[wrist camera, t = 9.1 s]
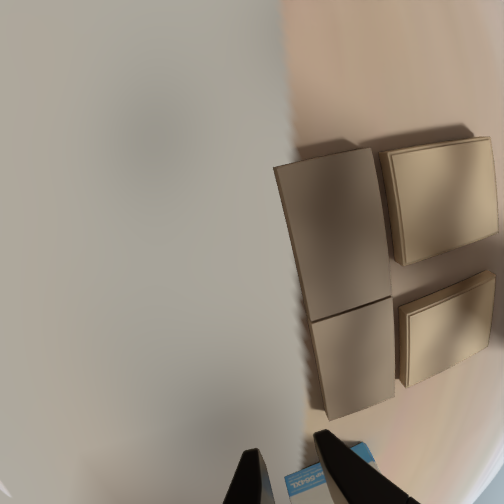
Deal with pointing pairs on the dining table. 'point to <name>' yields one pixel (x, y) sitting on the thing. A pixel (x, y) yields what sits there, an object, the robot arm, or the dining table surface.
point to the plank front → (440, 196)
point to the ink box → (318, 481)
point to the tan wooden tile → (343, 275)
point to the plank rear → (445, 327)
